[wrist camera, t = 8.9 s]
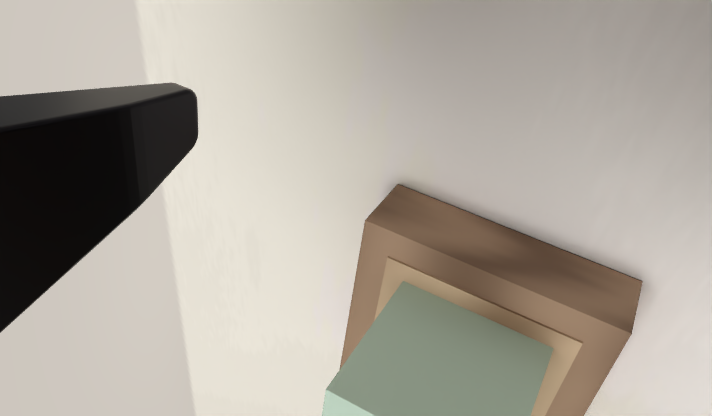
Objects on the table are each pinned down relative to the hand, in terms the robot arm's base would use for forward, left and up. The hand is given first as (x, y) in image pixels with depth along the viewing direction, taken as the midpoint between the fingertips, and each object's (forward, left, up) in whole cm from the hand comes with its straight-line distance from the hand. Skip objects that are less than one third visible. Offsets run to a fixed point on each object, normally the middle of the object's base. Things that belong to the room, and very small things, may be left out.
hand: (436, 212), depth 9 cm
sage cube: (0, +14, -10) cm, 17 cm away
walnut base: (0, +14, -13) cm, 19 cm away
